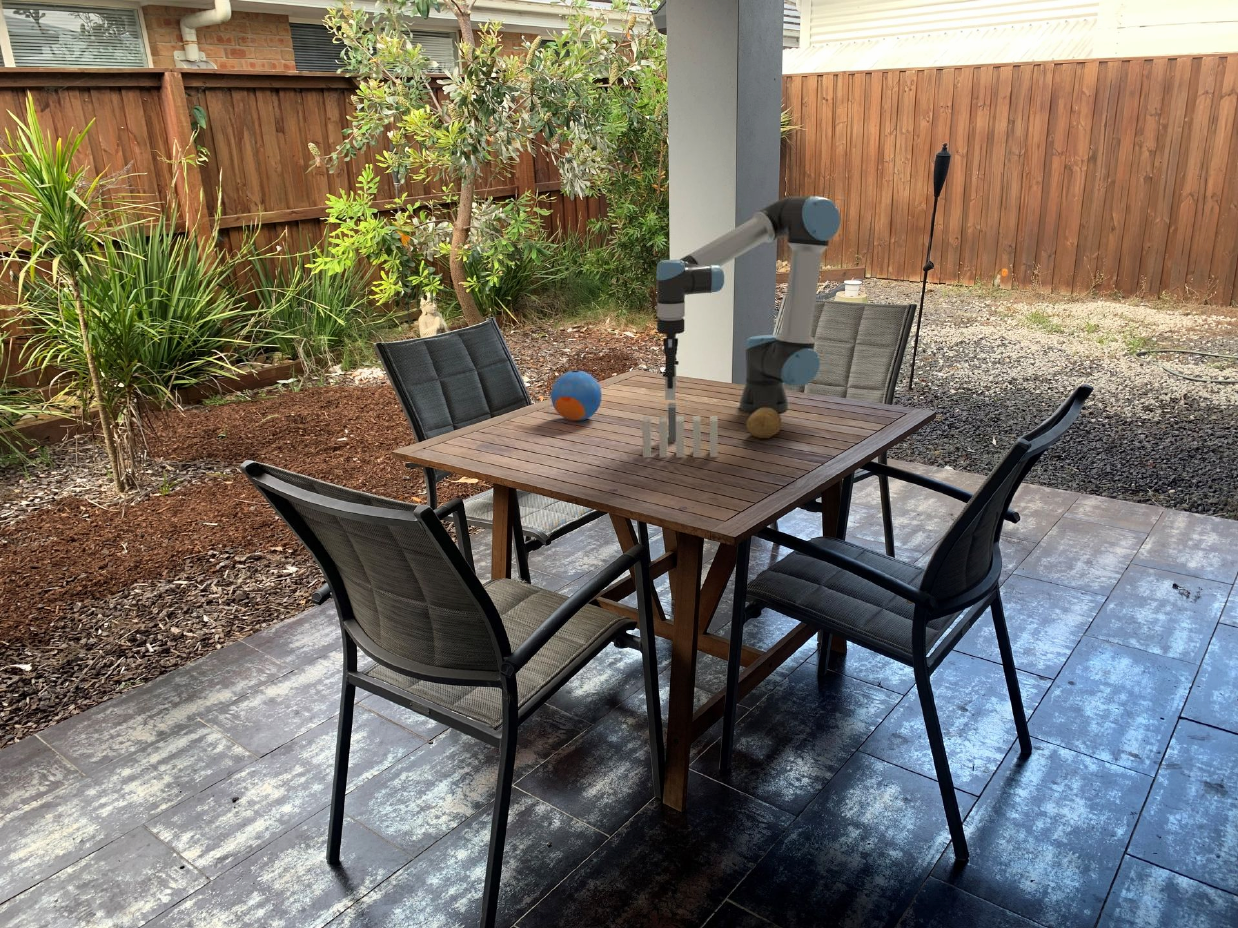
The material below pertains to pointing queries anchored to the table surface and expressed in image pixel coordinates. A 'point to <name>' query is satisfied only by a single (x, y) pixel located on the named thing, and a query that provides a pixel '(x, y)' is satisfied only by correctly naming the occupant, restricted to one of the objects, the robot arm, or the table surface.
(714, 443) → the domino
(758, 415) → the potato
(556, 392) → the treat dispenser ball
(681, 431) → the domino
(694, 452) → the domino
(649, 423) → the domino
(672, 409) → the domino
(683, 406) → the table surface
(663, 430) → the domino
